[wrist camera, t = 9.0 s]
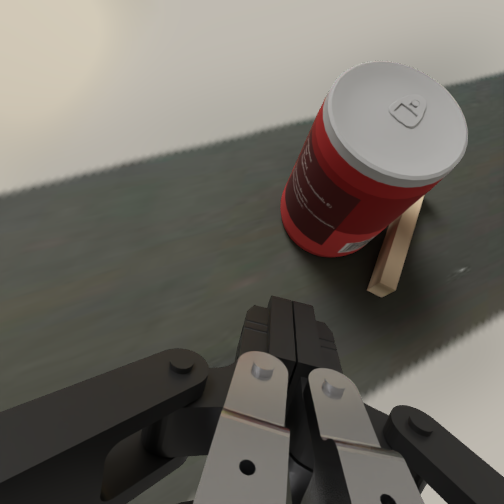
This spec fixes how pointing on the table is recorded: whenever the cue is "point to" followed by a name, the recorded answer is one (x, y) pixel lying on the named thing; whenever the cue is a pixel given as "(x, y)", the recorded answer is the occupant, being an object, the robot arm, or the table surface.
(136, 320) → the table surface
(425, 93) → the canned food
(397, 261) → the bar
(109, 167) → the table surface
